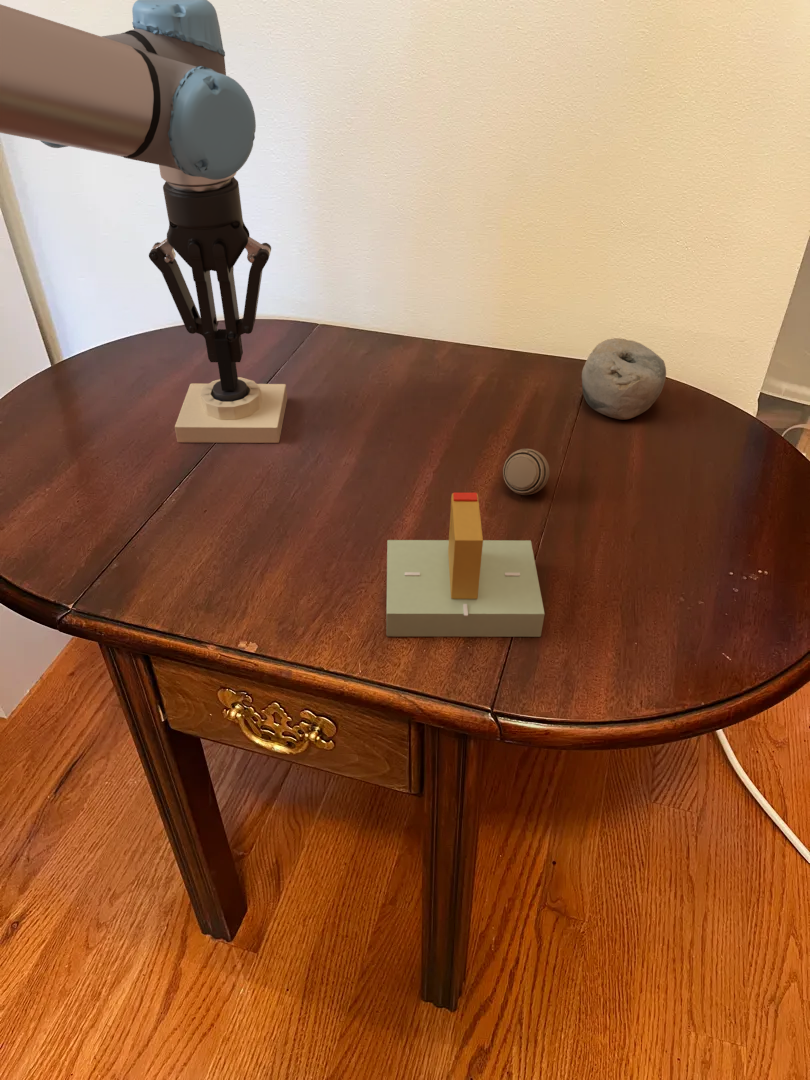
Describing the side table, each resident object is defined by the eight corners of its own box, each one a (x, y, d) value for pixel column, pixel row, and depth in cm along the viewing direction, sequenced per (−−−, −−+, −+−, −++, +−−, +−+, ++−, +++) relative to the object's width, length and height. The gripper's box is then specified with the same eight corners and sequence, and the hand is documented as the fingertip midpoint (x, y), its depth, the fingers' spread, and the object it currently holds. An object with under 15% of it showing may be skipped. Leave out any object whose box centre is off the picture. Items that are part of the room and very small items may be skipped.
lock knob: (477, 599, 75) (483, 538, 70) (450, 599, 75) (454, 537, 70) (473, 551, 80) (478, 491, 75) (448, 551, 80) (451, 491, 75)
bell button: (212, 408, 99) (210, 395, 98) (217, 390, 102) (215, 378, 101) (245, 408, 99) (244, 395, 98) (250, 391, 102) (248, 378, 101)
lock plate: (386, 639, 75) (386, 615, 73) (387, 560, 84) (387, 536, 82) (541, 639, 76) (545, 615, 74) (527, 560, 84) (530, 536, 82)
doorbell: (177, 442, 99) (171, 413, 96) (192, 398, 106) (188, 370, 104) (279, 443, 99) (276, 414, 96) (287, 398, 107) (284, 370, 104)
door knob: (496, 479, 94) (499, 442, 91) (538, 474, 95) (543, 437, 92) (508, 506, 90) (513, 468, 87) (552, 501, 91) (558, 463, 88)
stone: (551, 374, 104) (604, 309, 103) (586, 409, 112) (637, 350, 110) (604, 412, 98) (662, 343, 96) (638, 447, 105) (692, 384, 104)
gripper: (269, 167, 87) (287, 369, 103) (143, 166, 87) (181, 368, 102) (260, 192, 81) (281, 401, 97) (126, 191, 81) (168, 401, 97)
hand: (230, 384), depth 100 cm, fingers closed
